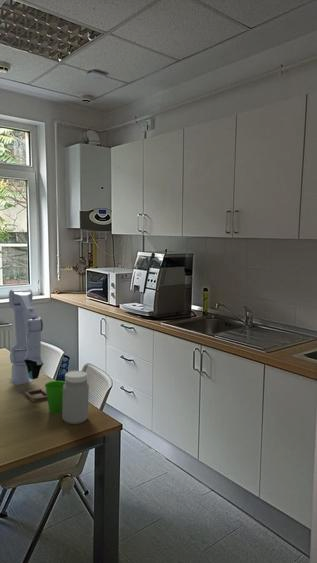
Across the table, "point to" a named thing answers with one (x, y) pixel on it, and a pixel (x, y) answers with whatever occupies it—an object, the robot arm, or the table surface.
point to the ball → (30, 375)
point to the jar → (75, 397)
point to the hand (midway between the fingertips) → (33, 376)
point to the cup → (55, 396)
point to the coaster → (23, 391)
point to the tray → (36, 395)
